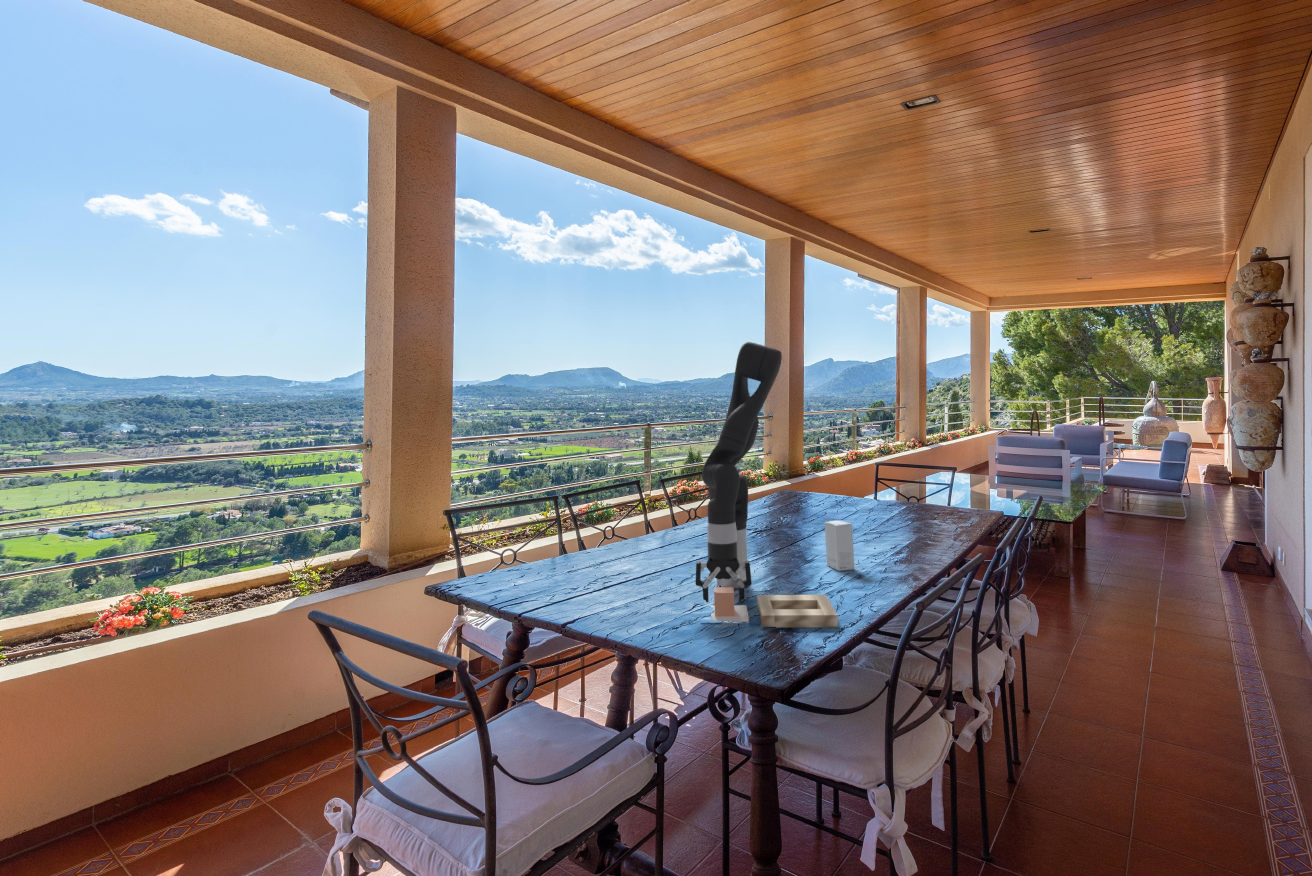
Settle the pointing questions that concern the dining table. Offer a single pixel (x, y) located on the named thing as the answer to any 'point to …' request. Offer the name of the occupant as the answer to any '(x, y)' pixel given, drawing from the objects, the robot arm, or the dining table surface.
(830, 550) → the skincare box
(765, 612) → the pocket plate
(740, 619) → the mat
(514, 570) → the dining table surface
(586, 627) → the dining table surface
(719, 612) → the block
